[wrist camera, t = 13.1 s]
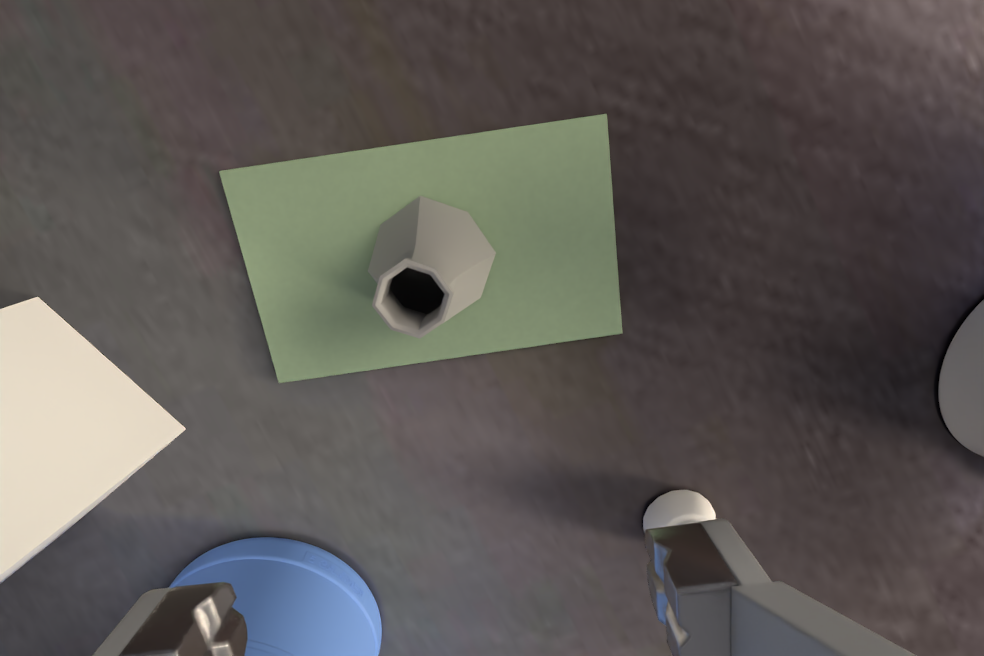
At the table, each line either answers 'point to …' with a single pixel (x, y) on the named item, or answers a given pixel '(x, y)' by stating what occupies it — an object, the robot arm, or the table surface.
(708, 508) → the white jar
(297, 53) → the table surface
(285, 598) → the water jug
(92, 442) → the milk
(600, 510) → the table surface
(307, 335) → the placemat
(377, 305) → the flask
